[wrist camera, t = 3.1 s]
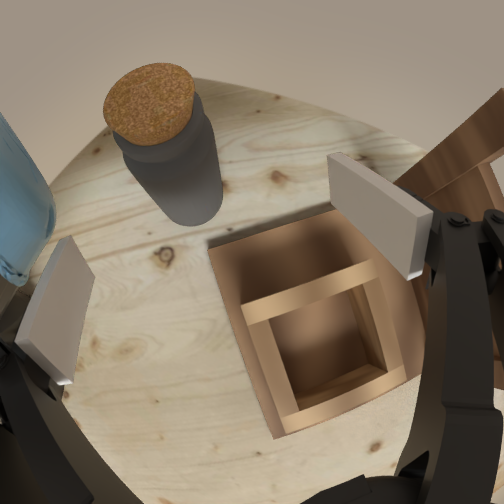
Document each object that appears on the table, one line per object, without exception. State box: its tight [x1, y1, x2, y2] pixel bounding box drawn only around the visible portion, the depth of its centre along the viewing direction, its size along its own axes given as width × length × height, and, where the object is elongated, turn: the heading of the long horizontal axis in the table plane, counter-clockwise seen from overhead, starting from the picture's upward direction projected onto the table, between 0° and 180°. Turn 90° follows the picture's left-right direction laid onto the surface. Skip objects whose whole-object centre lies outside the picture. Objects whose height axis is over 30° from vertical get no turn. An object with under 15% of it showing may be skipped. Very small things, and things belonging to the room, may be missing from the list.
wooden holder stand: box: [207, 88, 504, 439], centre depth 16 cm, size 19×18×19 cm
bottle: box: [103, 63, 223, 226], centre depth 19 cm, size 6×6×15 cm
